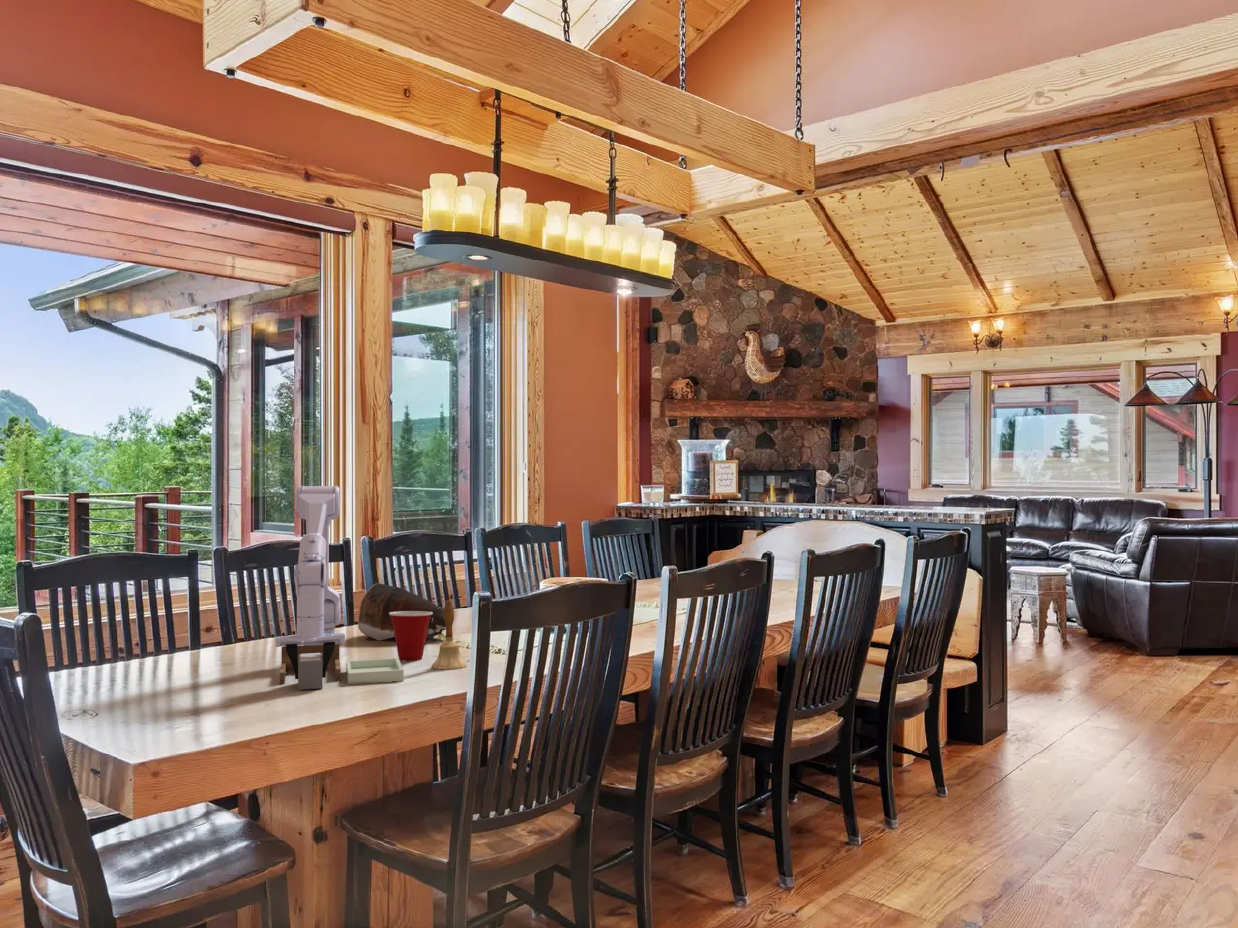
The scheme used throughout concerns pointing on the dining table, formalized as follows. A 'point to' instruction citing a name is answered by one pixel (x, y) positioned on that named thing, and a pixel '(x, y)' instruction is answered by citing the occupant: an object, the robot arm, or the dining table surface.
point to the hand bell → (449, 645)
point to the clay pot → (394, 599)
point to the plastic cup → (410, 633)
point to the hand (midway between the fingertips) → (310, 677)
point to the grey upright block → (310, 671)
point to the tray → (374, 671)
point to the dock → (305, 649)
